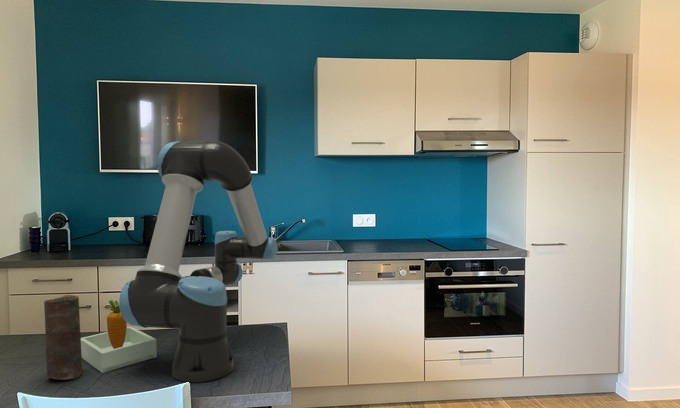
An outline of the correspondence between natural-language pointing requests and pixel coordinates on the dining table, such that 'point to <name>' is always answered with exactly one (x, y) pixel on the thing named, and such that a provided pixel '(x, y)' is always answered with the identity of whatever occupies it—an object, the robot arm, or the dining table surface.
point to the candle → (63, 337)
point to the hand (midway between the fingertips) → (152, 291)
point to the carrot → (116, 326)
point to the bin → (117, 350)
